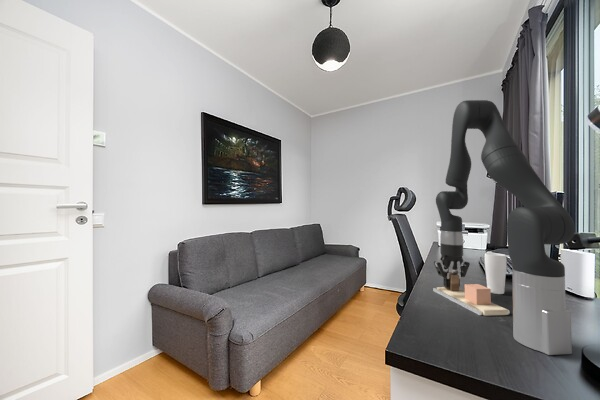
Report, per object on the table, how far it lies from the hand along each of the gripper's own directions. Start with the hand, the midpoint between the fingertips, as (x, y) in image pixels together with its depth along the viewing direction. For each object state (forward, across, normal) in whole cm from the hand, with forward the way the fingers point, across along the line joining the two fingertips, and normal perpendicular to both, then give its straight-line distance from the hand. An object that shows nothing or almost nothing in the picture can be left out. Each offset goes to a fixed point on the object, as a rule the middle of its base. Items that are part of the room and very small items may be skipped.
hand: (451, 287), depth 94 cm
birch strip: (+2, 0, -8) cm, 8 cm away
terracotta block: (+1, 0, -12) cm, 12 cm away
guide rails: (+2, 0, -7) cm, 8 cm away
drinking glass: (+3, +19, +1) cm, 19 cm away
